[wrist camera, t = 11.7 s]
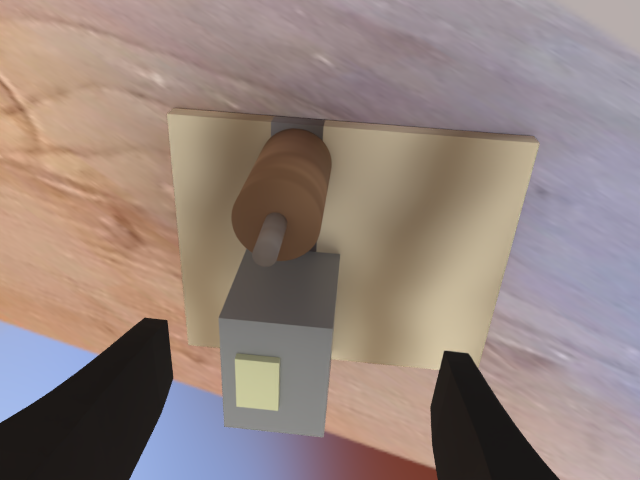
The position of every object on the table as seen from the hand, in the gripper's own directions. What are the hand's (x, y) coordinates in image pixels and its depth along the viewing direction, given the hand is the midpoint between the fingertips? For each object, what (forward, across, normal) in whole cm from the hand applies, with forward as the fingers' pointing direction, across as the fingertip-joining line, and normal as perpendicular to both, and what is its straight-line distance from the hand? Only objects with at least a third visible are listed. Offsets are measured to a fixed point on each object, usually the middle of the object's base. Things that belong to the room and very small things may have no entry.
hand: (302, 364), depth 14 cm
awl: (+9, +1, -2) cm, 9 cm away
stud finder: (+9, +1, +5) cm, 10 cm away
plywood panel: (+10, -1, +2) cm, 10 cm away
